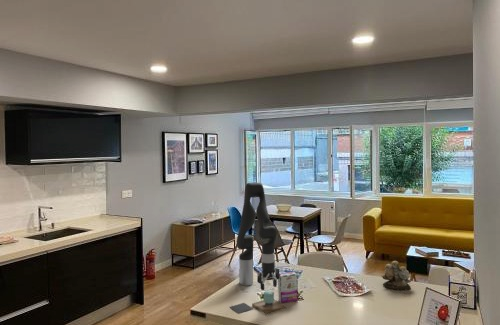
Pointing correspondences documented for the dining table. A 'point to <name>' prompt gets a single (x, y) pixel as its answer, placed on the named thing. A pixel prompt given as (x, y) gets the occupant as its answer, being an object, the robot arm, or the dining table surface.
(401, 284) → the owl figurine
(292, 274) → the candy bar box
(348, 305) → the dining table surface
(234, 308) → the mat
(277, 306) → the post base
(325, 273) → the dining table surface
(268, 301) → the cap
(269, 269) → the robot arm
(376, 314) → the dining table surface
